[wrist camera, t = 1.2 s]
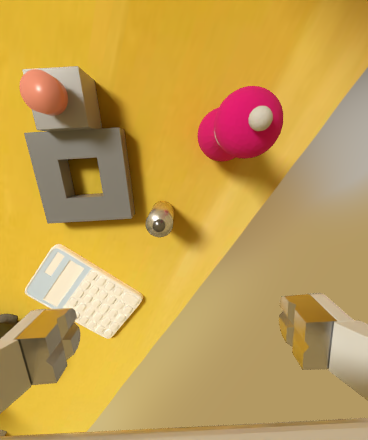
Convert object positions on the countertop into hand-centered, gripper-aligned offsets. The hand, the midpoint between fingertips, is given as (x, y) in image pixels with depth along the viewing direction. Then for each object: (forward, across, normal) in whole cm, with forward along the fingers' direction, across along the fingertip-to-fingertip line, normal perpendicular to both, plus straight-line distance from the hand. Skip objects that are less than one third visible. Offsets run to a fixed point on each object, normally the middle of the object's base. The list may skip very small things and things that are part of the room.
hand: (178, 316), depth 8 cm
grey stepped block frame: (+29, +16, -9) cm, 34 cm away
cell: (+30, +4, +1) cm, 30 cm away
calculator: (+32, +21, +17) cm, 42 cm away
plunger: (+22, +15, -16) cm, 31 cm away
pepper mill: (+30, -6, -10) cm, 32 cm away
